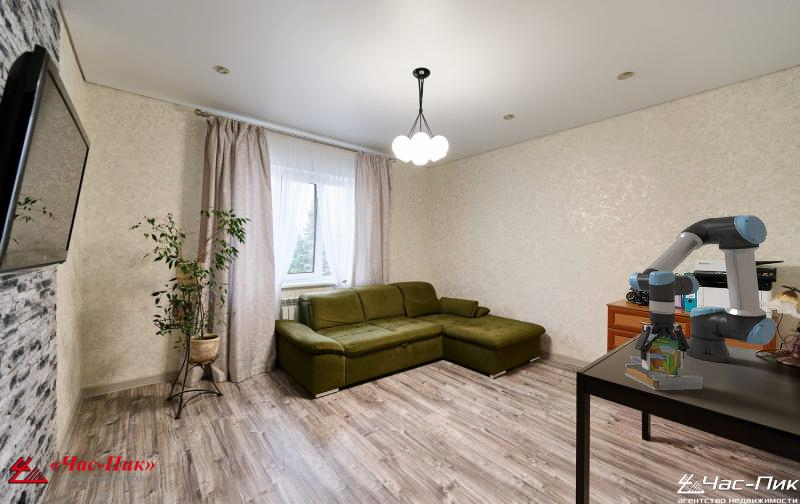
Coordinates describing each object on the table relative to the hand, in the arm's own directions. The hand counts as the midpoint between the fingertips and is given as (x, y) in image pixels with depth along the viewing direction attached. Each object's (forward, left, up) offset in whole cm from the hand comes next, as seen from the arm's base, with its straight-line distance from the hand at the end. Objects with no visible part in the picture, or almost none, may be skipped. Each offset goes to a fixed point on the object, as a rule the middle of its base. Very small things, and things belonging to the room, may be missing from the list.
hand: (662, 368), depth 120 cm
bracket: (0, 0, -5) cm, 5 cm away
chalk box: (0, 0, -1) cm, 1 cm away
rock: (-5, -14, -6) cm, 16 cm away
